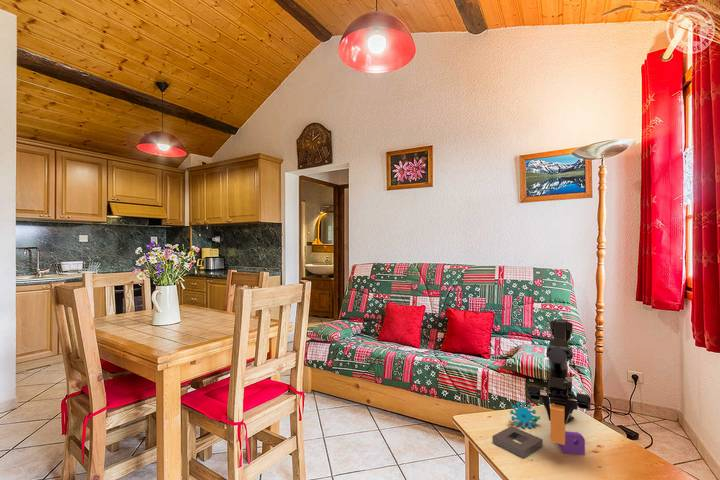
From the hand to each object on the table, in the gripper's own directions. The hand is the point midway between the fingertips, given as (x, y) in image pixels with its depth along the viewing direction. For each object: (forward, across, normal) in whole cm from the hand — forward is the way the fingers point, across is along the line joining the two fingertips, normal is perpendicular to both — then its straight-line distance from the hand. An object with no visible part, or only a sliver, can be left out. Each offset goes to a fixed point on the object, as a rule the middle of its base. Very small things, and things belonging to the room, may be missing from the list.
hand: (557, 422), depth 120 cm
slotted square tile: (+6, -13, +13) cm, 19 cm away
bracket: (0, +2, +20) cm, 20 cm away
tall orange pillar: (+4, 0, +6) cm, 7 cm away
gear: (-6, -13, +25) cm, 29 cm away
